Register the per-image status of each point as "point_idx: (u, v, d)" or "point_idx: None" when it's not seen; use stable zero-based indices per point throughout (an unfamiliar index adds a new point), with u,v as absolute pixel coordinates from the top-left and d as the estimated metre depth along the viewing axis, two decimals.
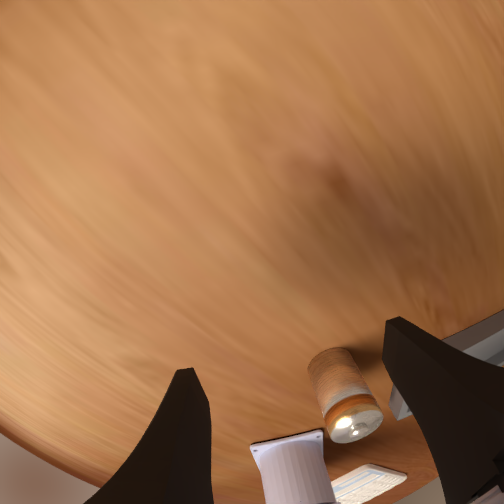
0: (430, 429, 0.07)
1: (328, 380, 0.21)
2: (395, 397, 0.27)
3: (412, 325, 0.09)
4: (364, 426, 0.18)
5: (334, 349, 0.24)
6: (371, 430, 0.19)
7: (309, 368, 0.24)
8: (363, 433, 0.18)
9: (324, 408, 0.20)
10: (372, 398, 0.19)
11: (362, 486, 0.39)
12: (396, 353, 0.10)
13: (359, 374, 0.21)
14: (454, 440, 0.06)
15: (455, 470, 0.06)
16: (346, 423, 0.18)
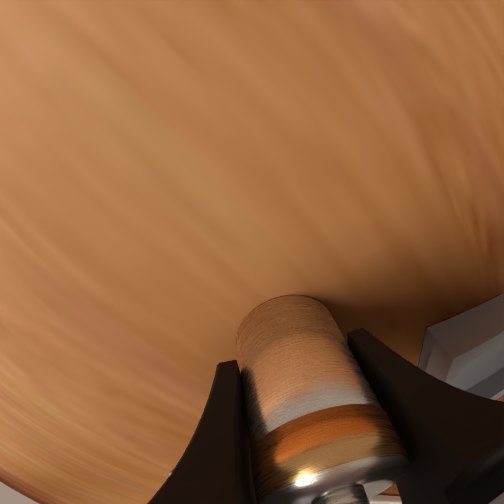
0: None
1: (265, 365, 0.09)
2: None
3: (373, 339, 0.09)
4: (356, 495, 0.05)
5: (291, 297, 0.11)
6: (375, 492, 0.06)
7: (237, 341, 0.12)
8: None
9: (251, 437, 0.07)
10: (382, 417, 0.06)
11: None
12: None
13: (347, 353, 0.09)
14: (410, 463, 0.06)
15: (412, 493, 0.06)
16: (300, 490, 0.05)
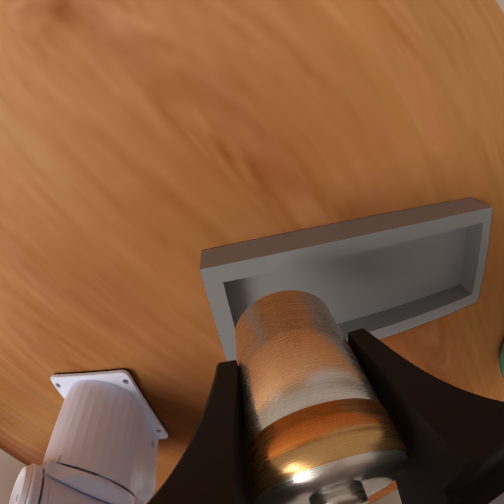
0: None
1: (260, 362, 0.09)
2: None
3: (373, 339, 0.09)
4: (353, 492, 0.05)
5: (287, 292, 0.11)
6: (376, 489, 0.06)
7: (235, 338, 0.12)
8: None
9: (247, 434, 0.07)
10: (378, 411, 0.06)
11: None
12: None
13: (344, 347, 0.09)
14: (410, 463, 0.06)
15: (412, 492, 0.06)
16: (294, 487, 0.05)
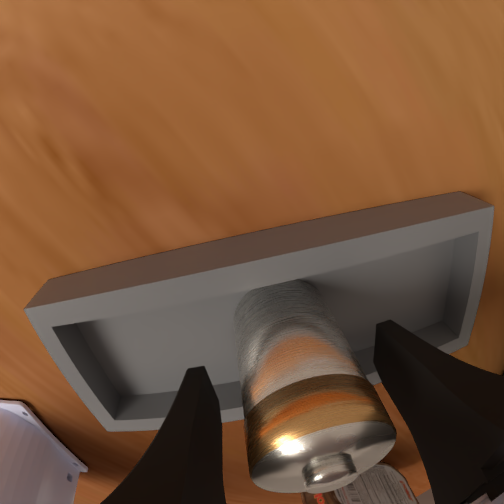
0: (420, 434, 0.07)
1: (256, 342, 0.09)
2: None
3: (402, 329, 0.09)
4: (343, 464, 0.06)
5: None
6: (367, 465, 0.07)
7: None
8: (339, 480, 0.06)
9: (244, 410, 0.08)
10: (365, 387, 0.07)
11: None
12: (386, 357, 0.10)
13: (334, 329, 0.10)
14: (443, 446, 0.06)
15: (444, 476, 0.06)
16: (287, 456, 0.06)
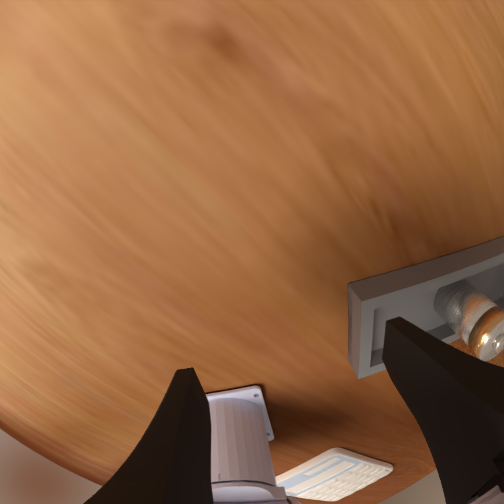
0: (430, 429, 0.07)
1: (464, 301, 0.19)
2: (352, 345, 0.23)
3: (412, 325, 0.09)
4: None
5: None
6: None
7: (437, 298, 0.22)
8: None
9: (467, 327, 0.18)
10: None
11: (336, 476, 0.35)
12: (396, 353, 0.10)
13: None
14: (454, 440, 0.06)
15: (455, 470, 0.06)
16: (494, 332, 0.16)
